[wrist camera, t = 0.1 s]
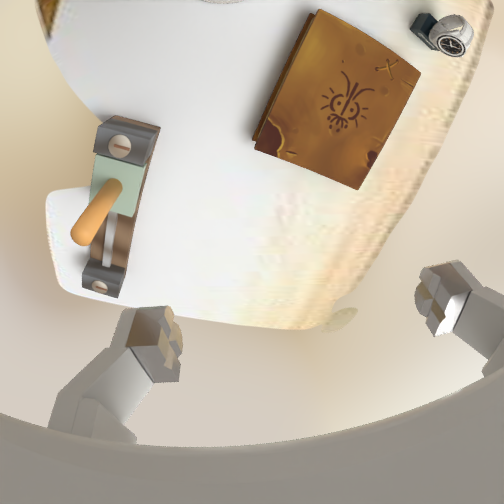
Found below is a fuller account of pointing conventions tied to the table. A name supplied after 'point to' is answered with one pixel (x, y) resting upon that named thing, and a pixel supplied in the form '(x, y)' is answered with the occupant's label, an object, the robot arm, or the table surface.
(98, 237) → the rail
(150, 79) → the table surface
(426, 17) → the watch
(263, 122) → the diary
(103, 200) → the slider with orange handle
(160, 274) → the table surface
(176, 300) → the table surface
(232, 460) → the robot arm
